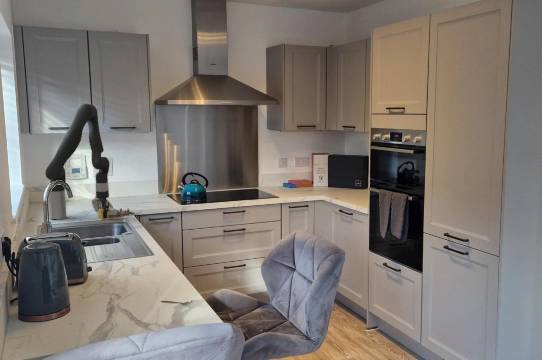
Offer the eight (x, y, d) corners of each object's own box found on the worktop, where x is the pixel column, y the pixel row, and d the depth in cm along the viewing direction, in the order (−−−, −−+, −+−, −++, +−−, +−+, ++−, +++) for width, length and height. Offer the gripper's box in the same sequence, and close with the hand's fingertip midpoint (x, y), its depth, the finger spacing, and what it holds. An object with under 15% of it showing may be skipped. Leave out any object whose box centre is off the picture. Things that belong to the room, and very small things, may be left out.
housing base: (108, 218, 308) (108, 213, 307) (102, 215, 316) (102, 210, 315) (133, 214, 318) (132, 209, 317) (126, 211, 326) (126, 207, 325)
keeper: (110, 215, 309) (110, 210, 308) (104, 212, 316) (104, 208, 316) (117, 214, 311) (117, 209, 311) (111, 211, 319) (111, 207, 319)
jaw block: (101, 219, 303) (100, 210, 302) (98, 218, 306) (98, 209, 306) (108, 218, 306) (108, 209, 305) (105, 217, 309) (105, 208, 308)
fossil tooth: (111, 214, 325) (89, 211, 326) (115, 211, 331) (93, 209, 333) (111, 197, 323) (89, 194, 324) (115, 195, 329) (93, 192, 330)
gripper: (91, 189, 307) (93, 216, 309) (100, 192, 296) (101, 220, 298) (103, 187, 311) (105, 214, 314) (112, 190, 300) (114, 218, 303)
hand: (103, 217), depth 306 cm, fingers closed on jaw block, 4 cm apart
